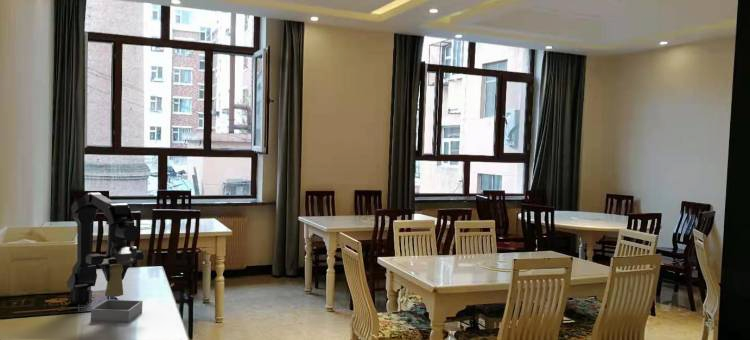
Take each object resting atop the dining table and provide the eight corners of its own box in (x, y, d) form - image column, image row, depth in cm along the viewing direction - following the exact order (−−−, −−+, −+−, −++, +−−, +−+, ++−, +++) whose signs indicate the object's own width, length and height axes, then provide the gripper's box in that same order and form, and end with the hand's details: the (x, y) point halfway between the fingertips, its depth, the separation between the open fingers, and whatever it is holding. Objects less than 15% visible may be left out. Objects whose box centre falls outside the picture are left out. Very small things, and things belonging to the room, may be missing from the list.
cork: (109, 292, 202) (110, 262, 201) (126, 292, 202) (127, 263, 202) (102, 296, 196) (103, 265, 195) (119, 297, 196) (120, 266, 196)
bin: (90, 321, 193) (91, 309, 193) (106, 310, 206) (107, 299, 206) (128, 322, 193) (129, 310, 193) (142, 312, 206) (142, 300, 206)
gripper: (98, 243, 186) (96, 288, 187) (152, 239, 200) (150, 281, 200) (85, 238, 194) (84, 282, 194) (138, 235, 207) (136, 276, 208)
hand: (114, 280), depth 199 cm, fingers closed on cork, 5 cm apart
